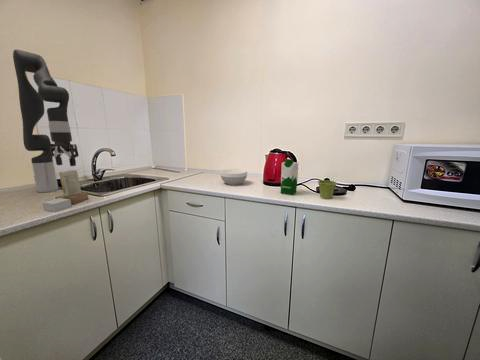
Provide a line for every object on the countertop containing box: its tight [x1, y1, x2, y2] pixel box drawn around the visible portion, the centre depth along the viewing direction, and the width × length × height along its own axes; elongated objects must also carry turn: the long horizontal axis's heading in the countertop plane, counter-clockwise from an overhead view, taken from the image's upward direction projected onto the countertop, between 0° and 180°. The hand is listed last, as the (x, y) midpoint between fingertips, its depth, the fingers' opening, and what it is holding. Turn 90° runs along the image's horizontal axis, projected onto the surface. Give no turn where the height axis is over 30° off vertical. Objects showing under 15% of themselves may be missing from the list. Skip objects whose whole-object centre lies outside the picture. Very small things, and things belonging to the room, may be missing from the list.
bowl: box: [219, 168, 248, 186], centre depth 144 cm, size 19×19×9 cm
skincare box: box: [58, 169, 82, 197], centre depth 103 cm, size 6×4×12 cm
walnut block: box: [54, 192, 89, 206], centre depth 104 cm, size 9×9×4 cm
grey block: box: [41, 198, 73, 213], centre depth 94 cm, size 7×7×4 cm
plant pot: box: [317, 179, 338, 200], centre depth 112 cm, size 9×9×9 cm
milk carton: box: [280, 158, 299, 196], centre depth 119 cm, size 9×9×20 cm
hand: (66, 165), depth 101 cm, fingers open, 8 cm apart
